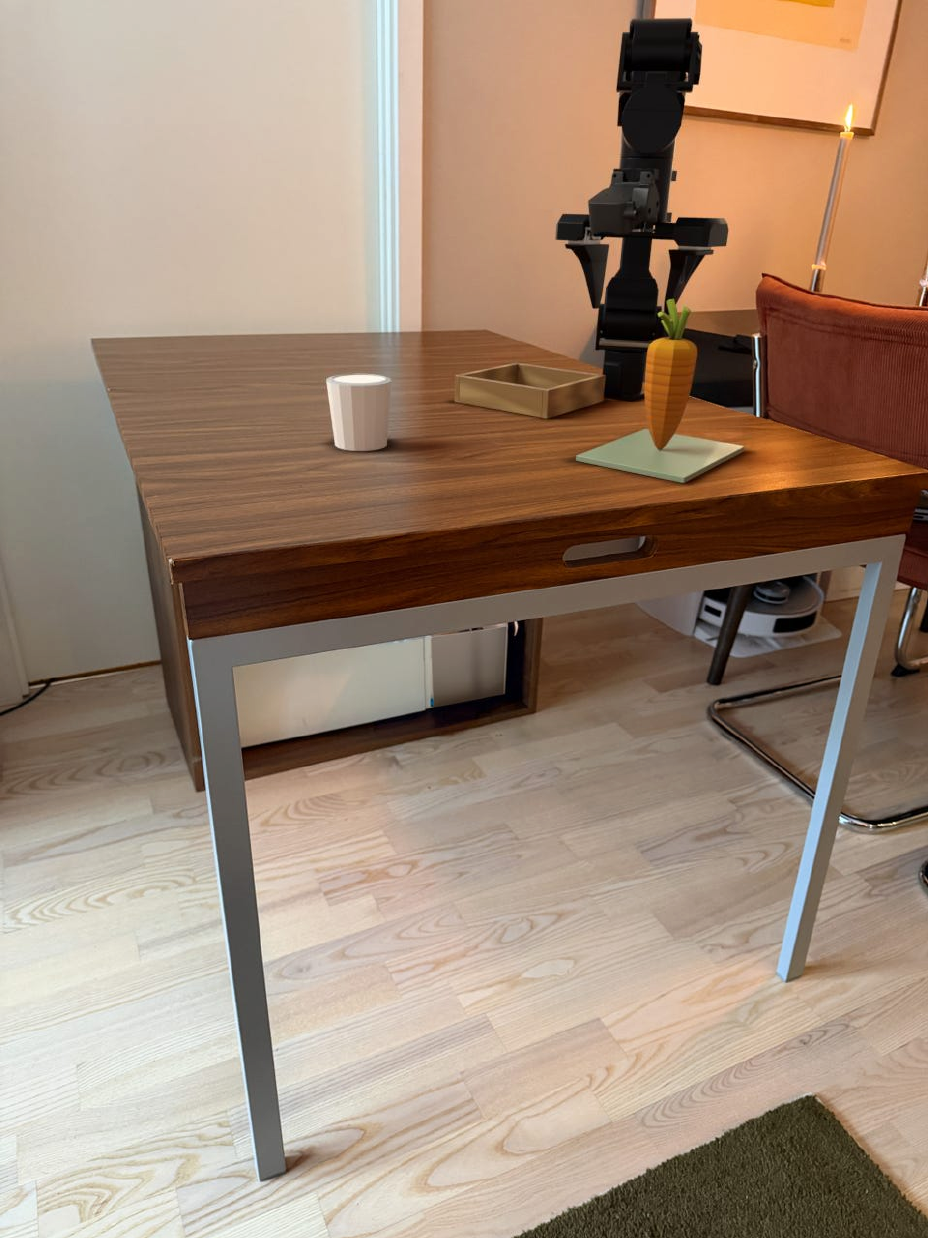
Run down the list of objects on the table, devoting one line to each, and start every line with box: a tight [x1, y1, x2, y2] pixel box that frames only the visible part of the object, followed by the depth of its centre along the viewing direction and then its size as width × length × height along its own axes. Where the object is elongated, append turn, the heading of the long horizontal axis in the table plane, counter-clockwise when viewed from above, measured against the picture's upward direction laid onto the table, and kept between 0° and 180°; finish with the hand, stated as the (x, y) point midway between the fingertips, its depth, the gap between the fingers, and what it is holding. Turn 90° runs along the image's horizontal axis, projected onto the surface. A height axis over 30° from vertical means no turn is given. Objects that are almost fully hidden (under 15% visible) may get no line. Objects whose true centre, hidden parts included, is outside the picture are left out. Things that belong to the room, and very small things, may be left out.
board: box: [575, 428, 745, 484], centre depth 89 cm, size 16×12×1 cm
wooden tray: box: [454, 362, 606, 419], centre depth 112 cm, size 15×15×4 cm
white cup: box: [325, 373, 392, 452], centre depth 89 cm, size 7×7×7 cm
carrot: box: [643, 299, 698, 450], centre depth 86 cm, size 5×5×15 cm
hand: (630, 311), depth 97 cm, fingers open, 9 cm apart
